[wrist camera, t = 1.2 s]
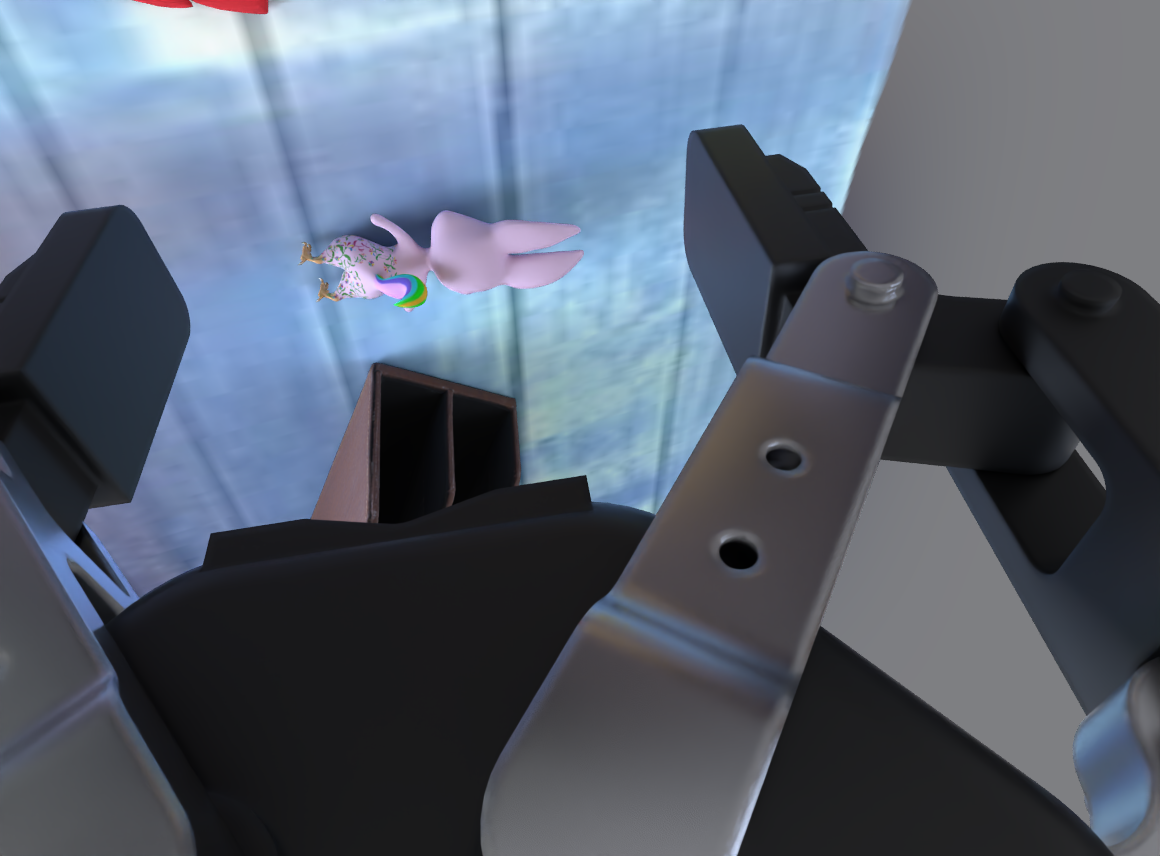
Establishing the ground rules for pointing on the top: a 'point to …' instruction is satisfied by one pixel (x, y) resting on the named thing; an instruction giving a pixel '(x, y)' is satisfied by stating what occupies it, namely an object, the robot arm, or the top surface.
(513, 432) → the letter holder
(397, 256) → the rabbit figure
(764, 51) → the top surface
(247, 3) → the toy figure
